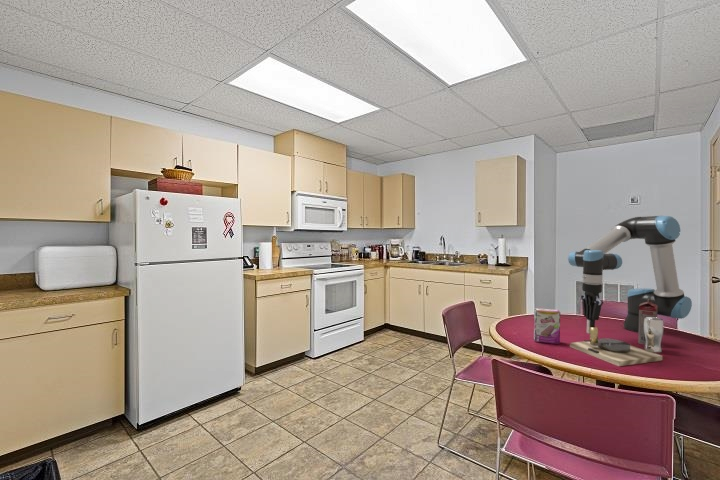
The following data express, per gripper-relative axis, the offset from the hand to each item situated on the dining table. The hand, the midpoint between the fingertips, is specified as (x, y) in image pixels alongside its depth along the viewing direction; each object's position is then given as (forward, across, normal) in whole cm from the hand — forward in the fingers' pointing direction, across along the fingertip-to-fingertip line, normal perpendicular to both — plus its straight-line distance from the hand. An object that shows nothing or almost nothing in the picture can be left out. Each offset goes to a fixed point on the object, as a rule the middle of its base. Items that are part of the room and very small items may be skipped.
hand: (590, 333), depth 158 cm
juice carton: (+8, -12, +34) cm, 37 cm away
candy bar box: (+9, -11, -14) cm, 20 cm away
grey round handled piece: (+6, +2, +6) cm, 8 cm away
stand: (+8, +3, +8) cm, 12 cm away
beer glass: (+8, -1, +29) cm, 30 cm away
